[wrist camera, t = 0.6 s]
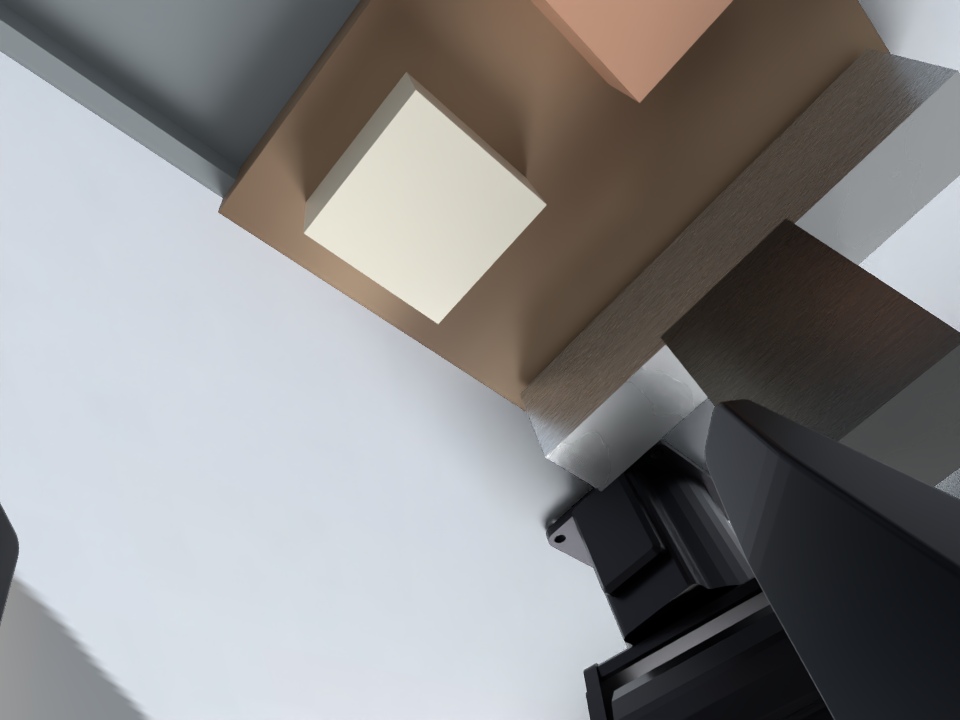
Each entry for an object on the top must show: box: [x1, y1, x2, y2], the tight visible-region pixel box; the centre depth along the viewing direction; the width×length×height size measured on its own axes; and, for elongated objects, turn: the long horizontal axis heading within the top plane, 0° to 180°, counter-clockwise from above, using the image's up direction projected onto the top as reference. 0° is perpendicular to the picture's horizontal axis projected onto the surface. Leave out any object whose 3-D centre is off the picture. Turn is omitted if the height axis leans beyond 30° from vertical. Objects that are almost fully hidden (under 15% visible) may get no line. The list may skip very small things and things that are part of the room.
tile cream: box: [304, 72, 547, 324], centre depth 17 cm, size 4×4×2 cm
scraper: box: [520, 48, 960, 492], centre depth 16 cm, size 3×13×8 cm, turn 137°
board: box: [218, 0, 890, 412], centre depth 19 cm, size 14×14×2 cm
